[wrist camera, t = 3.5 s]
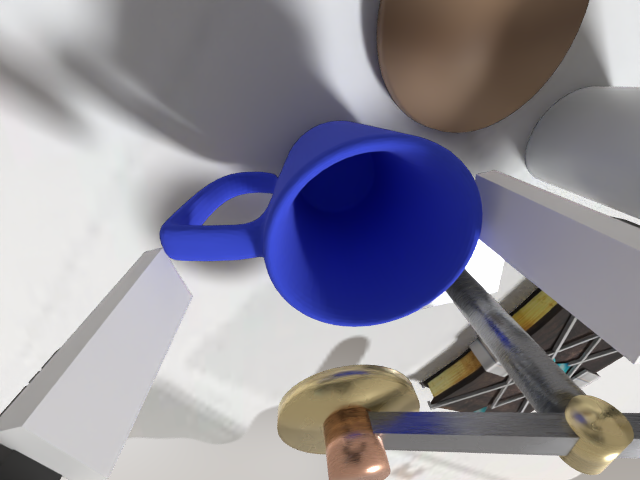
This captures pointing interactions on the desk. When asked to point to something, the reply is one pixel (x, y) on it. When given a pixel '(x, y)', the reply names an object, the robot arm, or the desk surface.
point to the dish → (471, 56)
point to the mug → (346, 223)
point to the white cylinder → (591, 146)
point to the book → (493, 381)
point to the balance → (456, 427)
